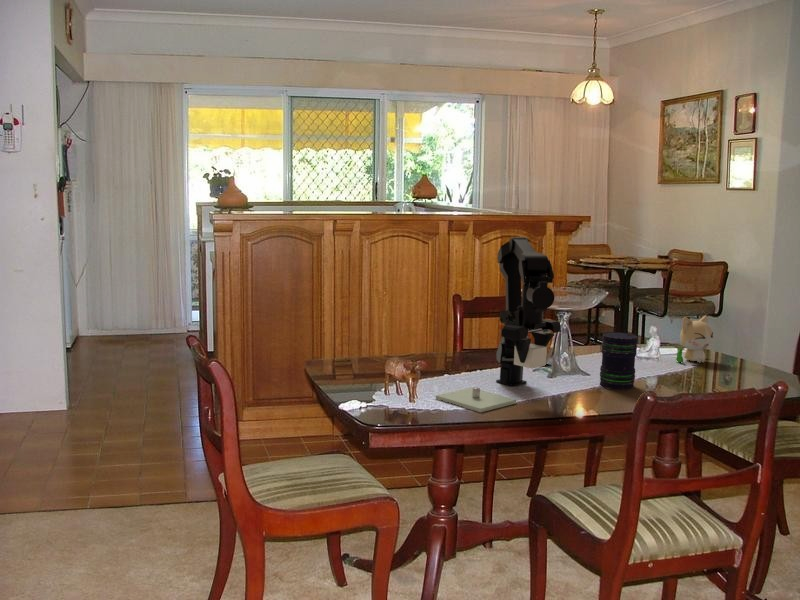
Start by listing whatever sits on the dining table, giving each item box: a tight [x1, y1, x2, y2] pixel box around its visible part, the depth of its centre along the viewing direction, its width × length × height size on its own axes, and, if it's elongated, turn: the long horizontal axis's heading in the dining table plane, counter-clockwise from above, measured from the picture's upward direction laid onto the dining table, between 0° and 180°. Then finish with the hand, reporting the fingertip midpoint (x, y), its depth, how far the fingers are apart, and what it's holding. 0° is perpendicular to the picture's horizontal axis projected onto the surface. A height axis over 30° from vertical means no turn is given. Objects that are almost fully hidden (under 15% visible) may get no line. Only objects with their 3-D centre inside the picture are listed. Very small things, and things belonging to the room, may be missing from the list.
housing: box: [514, 342, 548, 369], centre depth 222 cm, size 6×6×5 cm
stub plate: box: [435, 386, 517, 413], centre depth 223 cm, size 14×16×4 cm
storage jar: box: [599, 331, 638, 391], centre depth 242 cm, size 10×10×15 cm
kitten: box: [675, 314, 714, 364], centre depth 278 cm, size 15×10×15 cm
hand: (529, 361), depth 223 cm, fingers closed on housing, 6 cm apart
